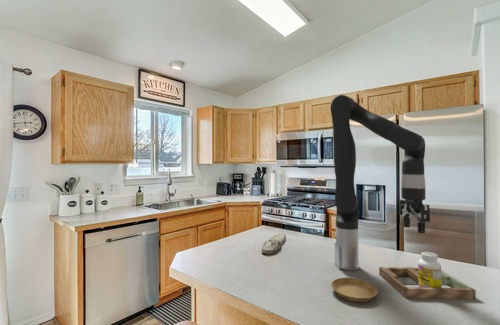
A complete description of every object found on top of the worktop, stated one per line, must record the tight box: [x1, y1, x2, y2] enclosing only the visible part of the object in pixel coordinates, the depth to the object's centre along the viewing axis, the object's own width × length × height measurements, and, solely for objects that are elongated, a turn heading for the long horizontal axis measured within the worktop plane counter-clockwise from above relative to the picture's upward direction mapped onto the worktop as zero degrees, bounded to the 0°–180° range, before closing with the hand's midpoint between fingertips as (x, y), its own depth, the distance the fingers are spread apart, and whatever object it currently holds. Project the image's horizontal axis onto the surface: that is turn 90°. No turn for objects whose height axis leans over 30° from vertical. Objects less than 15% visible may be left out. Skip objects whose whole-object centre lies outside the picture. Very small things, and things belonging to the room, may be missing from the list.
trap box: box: [378, 266, 477, 300], centre depth 92 cm, size 22×18×3 cm
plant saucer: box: [330, 277, 378, 303], centre depth 86 cm, size 15×15×3 cm
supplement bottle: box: [417, 251, 443, 288], centre depth 88 cm, size 7×7×13 cm
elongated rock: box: [261, 233, 287, 255], centre depth 141 cm, size 35×5×10 cm
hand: (413, 230), depth 93 cm, fingers open, 8 cm apart
